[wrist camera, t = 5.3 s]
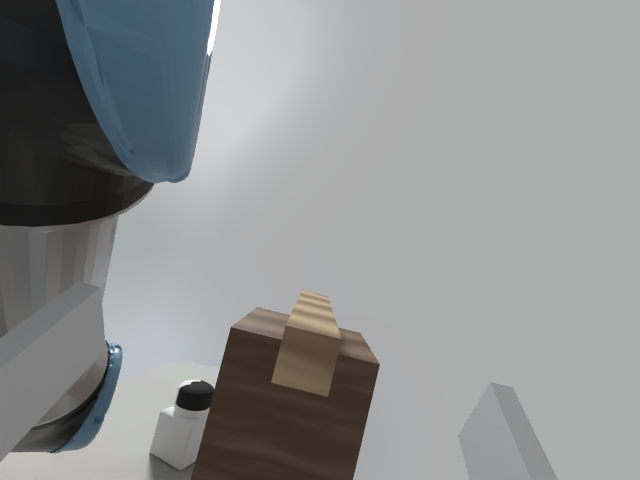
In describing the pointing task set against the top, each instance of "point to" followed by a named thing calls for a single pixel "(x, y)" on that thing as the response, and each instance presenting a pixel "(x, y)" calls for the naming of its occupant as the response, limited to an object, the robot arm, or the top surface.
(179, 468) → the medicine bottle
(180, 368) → the top surface
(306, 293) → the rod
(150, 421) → the top surface
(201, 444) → the stand
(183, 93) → the robot arm
